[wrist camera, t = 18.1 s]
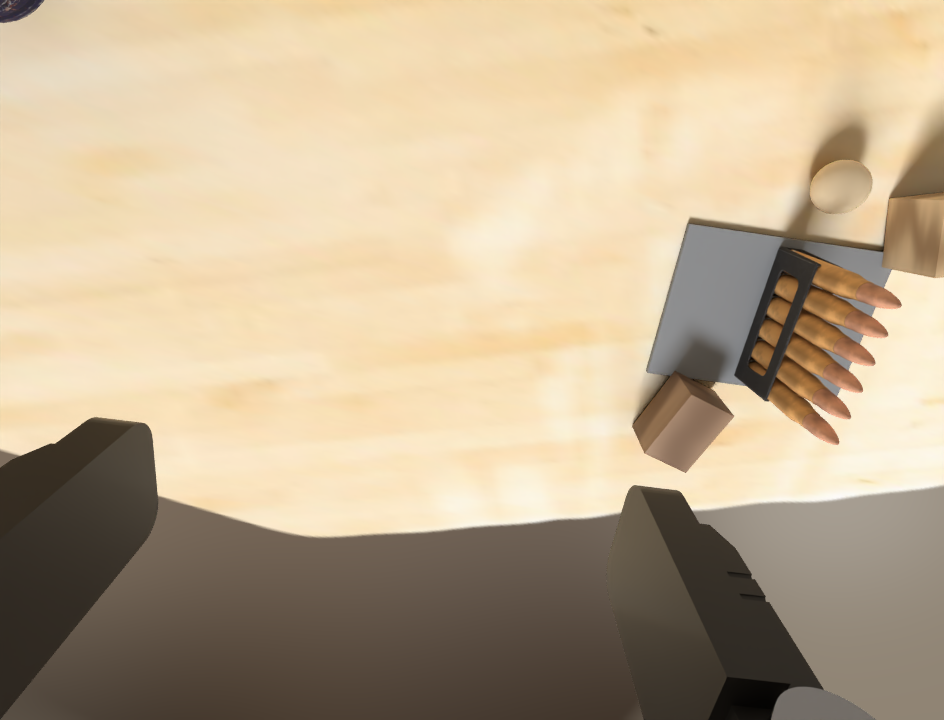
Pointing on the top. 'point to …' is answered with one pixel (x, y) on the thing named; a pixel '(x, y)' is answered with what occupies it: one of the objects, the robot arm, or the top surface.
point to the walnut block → (681, 422)
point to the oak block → (915, 235)
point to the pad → (735, 299)
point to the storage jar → (17, 9)
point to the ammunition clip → (809, 337)
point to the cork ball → (841, 186)
